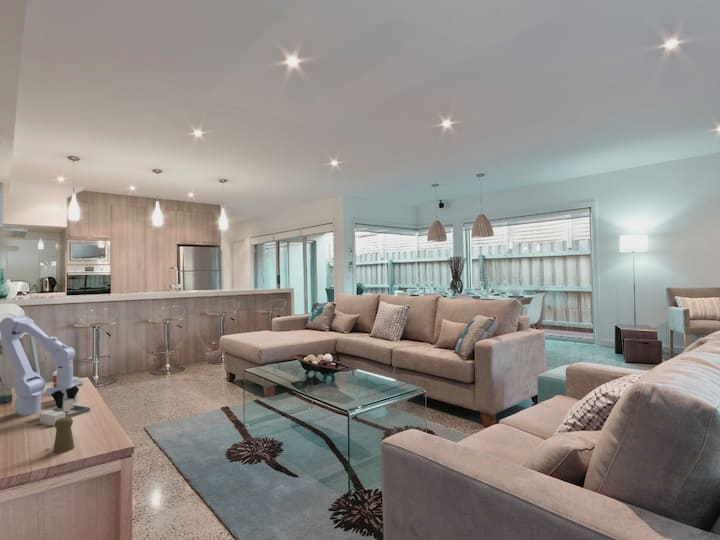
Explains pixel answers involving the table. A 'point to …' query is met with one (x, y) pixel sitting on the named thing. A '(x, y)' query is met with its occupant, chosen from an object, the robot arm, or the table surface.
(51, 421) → the off-white block
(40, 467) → the table surface
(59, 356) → the robot arm
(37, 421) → the brown flat slab
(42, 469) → the table surface
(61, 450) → the cork
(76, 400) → the cup
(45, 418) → the off-white stacked cube
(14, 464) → the table surface
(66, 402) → the cream matte cube
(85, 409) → the bin
